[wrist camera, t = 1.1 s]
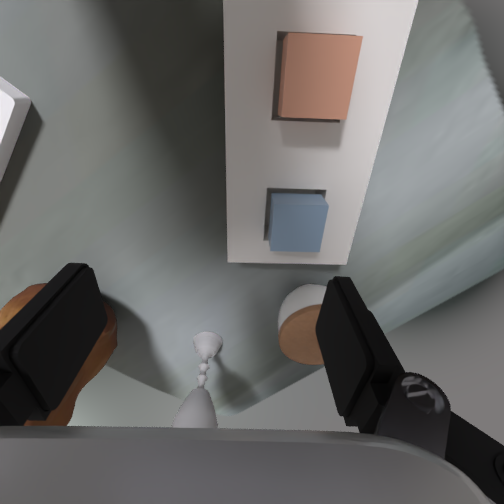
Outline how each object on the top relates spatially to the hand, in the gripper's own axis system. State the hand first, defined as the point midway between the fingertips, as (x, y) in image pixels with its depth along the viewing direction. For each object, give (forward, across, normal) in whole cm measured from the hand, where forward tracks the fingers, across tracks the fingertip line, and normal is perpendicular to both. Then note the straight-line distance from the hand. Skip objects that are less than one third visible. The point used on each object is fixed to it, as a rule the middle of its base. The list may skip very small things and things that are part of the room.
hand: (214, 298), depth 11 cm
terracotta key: (+17, -6, -8) cm, 20 cm away
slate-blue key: (+17, -6, +4) cm, 19 cm away
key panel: (+22, -6, -2) cm, 23 cm away
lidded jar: (+22, -12, +20) cm, 32 cm away
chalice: (+22, +3, +30) cm, 38 cm away
